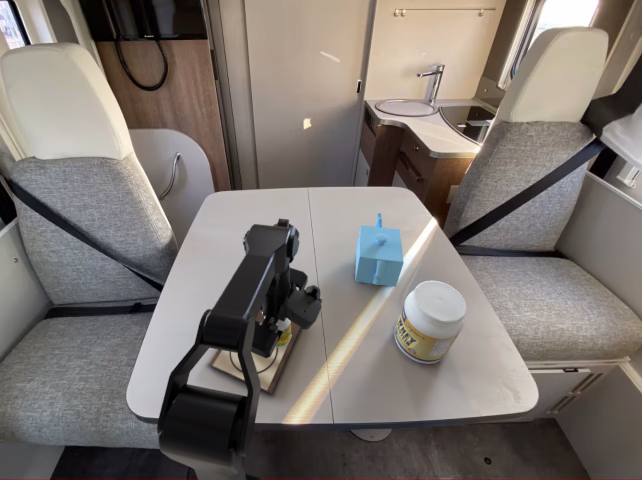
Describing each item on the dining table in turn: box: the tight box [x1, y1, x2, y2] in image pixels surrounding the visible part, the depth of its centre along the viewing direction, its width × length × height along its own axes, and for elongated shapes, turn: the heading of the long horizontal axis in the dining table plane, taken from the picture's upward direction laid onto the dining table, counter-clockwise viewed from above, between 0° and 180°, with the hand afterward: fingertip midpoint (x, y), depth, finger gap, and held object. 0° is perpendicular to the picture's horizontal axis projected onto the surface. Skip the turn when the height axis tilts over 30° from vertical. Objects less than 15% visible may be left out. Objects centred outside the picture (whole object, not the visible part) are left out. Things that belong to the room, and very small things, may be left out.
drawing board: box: [208, 310, 302, 395], centre depth 75 cm, size 18×16×1 cm
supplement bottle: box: [264, 316, 291, 347], centre depth 63 cm, size 5×5×10 cm
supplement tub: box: [394, 280, 468, 365], centre depth 70 cm, size 12×12×17 cm
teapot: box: [354, 212, 405, 288], centre depth 89 cm, size 22×11×14 cm, turn 169°
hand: (278, 330), depth 65 cm, fingers closed on supplement bottle, 5 cm apart
